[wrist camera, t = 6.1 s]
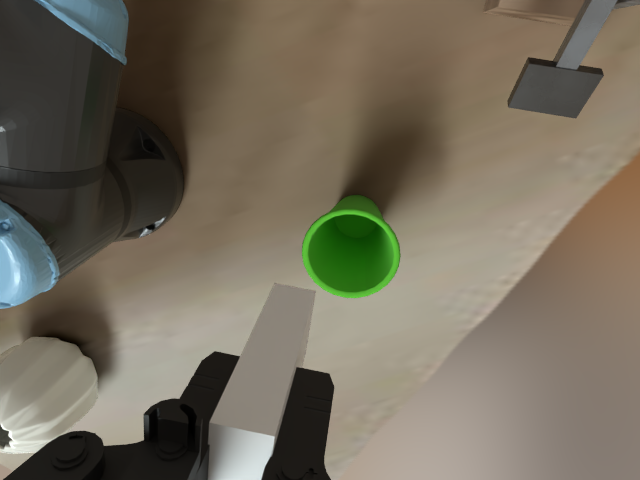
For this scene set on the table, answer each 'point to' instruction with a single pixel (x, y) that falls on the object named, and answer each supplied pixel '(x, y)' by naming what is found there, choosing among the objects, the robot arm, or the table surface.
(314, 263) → the cup
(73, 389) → the vase
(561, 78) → the lever
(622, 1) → the grey angular frame
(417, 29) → the table surface
